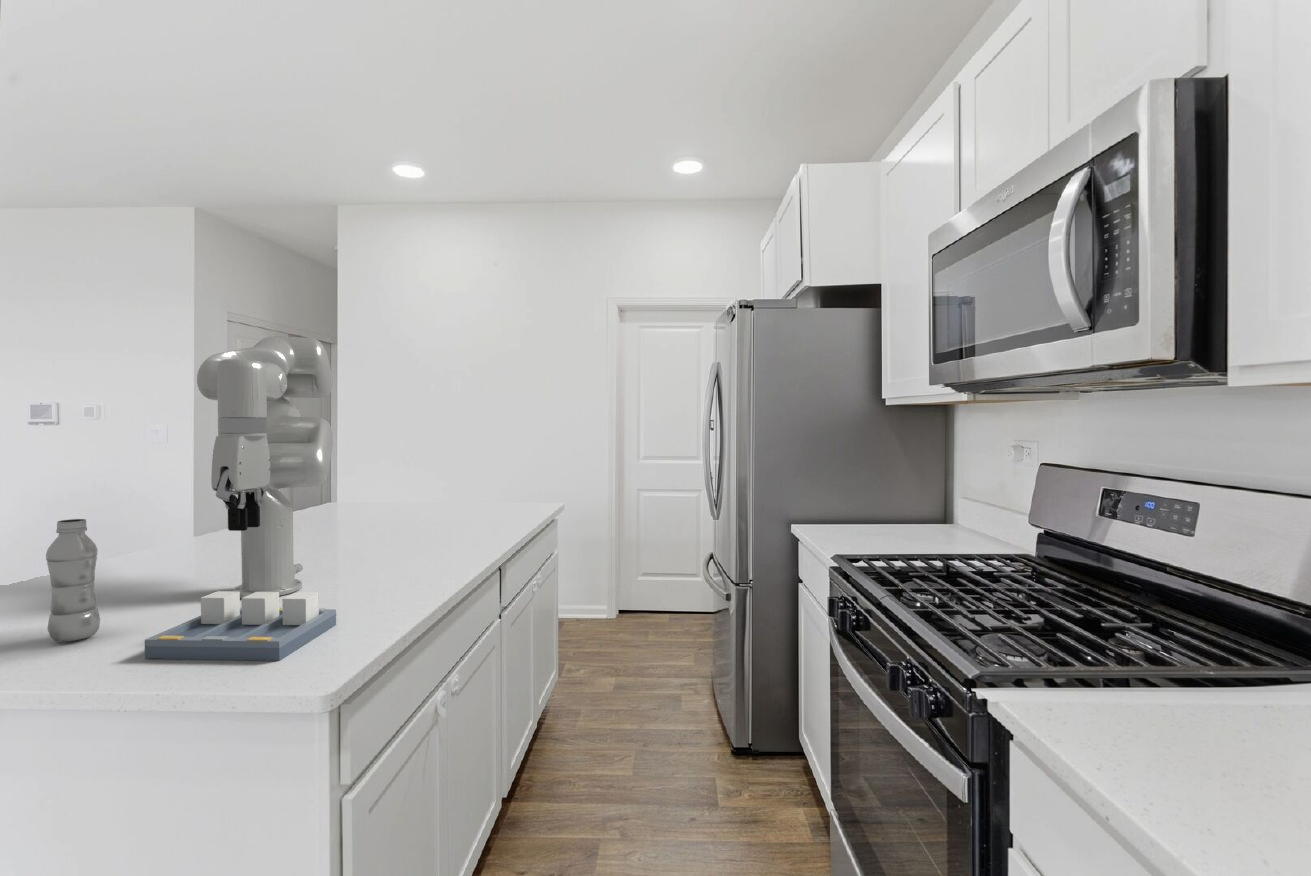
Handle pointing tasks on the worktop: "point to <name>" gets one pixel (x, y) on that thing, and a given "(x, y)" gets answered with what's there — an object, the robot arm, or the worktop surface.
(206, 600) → the tab
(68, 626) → the plastic bottle
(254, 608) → the tab
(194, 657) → the switch bank
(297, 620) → the tab
